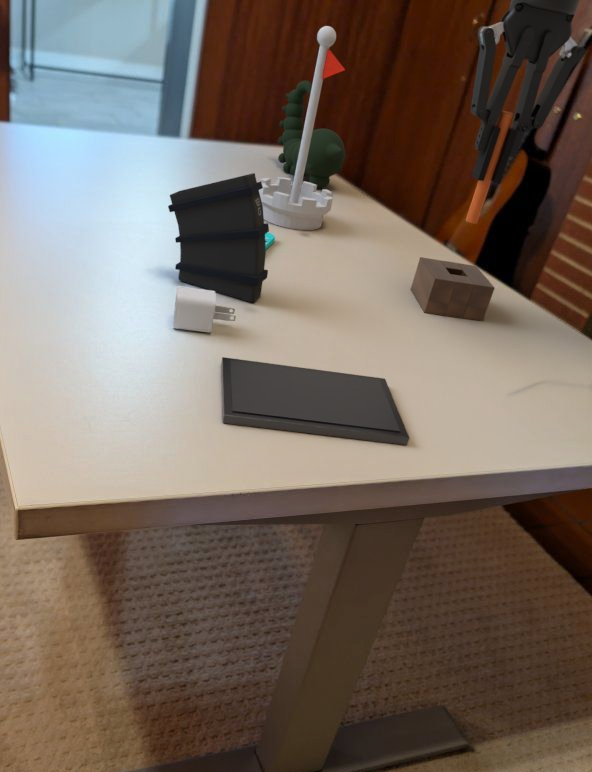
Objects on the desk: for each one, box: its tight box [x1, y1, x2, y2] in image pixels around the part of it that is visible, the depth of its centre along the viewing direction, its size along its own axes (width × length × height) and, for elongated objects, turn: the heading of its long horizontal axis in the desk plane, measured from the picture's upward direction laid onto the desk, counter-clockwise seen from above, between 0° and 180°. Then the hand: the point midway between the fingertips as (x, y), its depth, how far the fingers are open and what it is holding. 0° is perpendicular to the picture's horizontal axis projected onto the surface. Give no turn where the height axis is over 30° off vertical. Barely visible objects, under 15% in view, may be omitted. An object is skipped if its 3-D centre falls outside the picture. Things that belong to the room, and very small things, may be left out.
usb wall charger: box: [172, 285, 237, 334], centre depth 87 cm, size 4×7×4 cm, turn 94°
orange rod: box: [465, 110, 515, 225], centre depth 99 cm, size 2×2×14 cm
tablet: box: [220, 356, 410, 446], centre depth 76 cm, size 18×12×1 cm, turn 93°
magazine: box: [167, 172, 270, 303], centre depth 96 cm, size 4×13×15 cm, turn 69°
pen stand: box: [410, 256, 495, 322], centre depth 107 cm, size 9×9×5 cm
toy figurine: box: [277, 80, 346, 189], centre depth 154 cm, size 9×19×25 cm
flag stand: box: [259, 25, 346, 231], centre depth 124 cm, size 13×13×30 cm
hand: (485, 179), depth 99 cm, fingers closed on orange rod, 1 cm apart
